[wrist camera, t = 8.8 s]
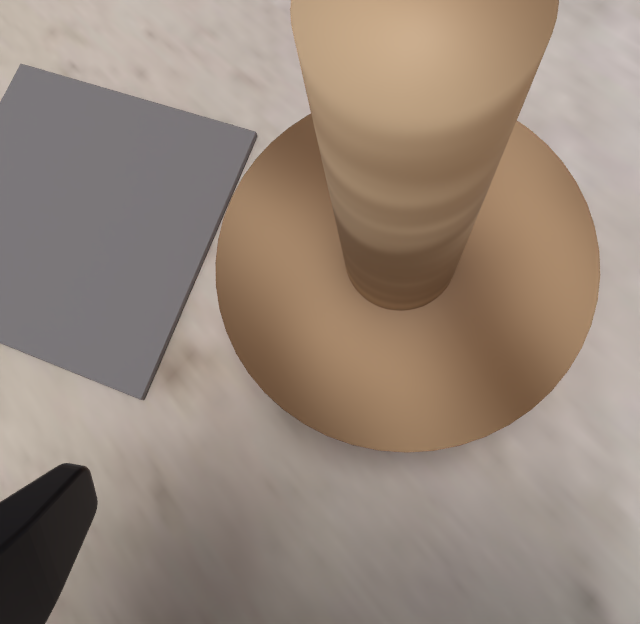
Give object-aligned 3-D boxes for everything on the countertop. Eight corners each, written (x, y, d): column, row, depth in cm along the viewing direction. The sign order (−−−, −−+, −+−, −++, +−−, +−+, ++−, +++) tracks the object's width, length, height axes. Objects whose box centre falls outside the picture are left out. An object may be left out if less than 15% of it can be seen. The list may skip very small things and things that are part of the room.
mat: (143, 399, 22) (140, 399, 22) (-99, 302, 24) (-105, 300, 24) (257, 135, 24) (255, 131, 24) (24, 67, 26) (20, 63, 26)
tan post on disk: (406, 535, 16) (451, 732, 5) (158, 276, 18) (-158, 45, 8) (665, 261, 17) (1165, -63, 6) (393, 51, 19) (402, -435, 9)
